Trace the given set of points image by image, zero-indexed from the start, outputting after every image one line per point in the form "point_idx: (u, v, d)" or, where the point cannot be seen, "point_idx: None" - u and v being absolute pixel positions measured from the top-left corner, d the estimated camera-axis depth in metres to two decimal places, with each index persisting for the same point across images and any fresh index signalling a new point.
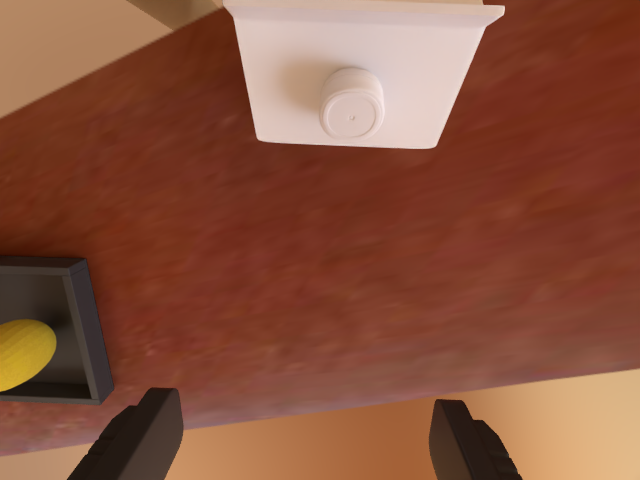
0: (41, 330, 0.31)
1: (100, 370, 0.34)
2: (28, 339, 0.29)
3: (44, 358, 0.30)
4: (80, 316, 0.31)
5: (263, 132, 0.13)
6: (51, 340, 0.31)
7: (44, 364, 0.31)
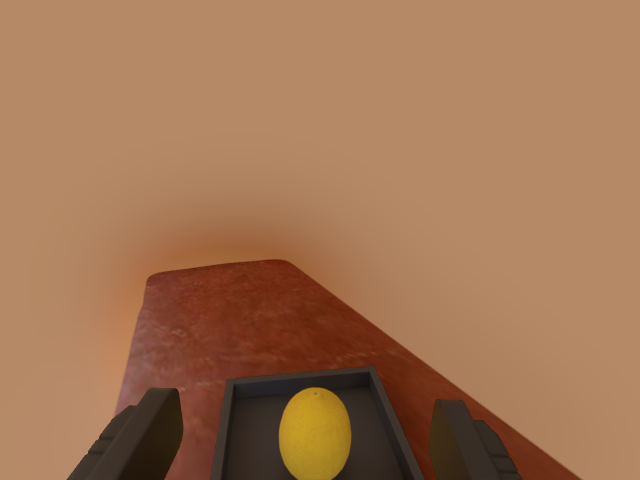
0: (340, 469, 0.24)
1: None
2: (343, 455, 0.23)
3: (312, 471, 0.23)
4: None
5: None
6: None
7: (300, 470, 0.23)
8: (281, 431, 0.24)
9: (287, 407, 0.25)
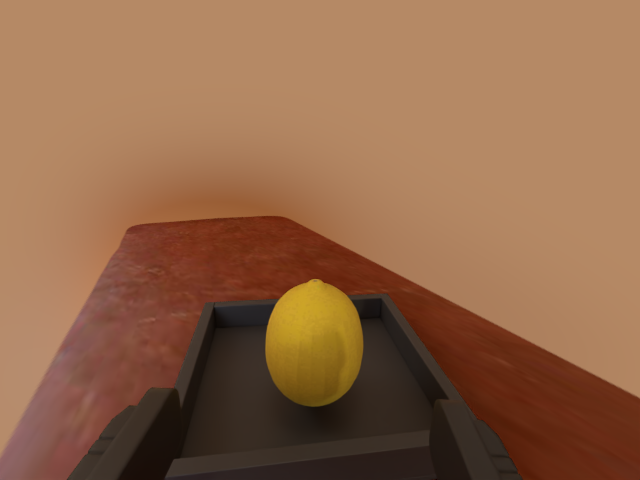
0: (349, 385, 0.17)
1: None
2: (353, 362, 0.17)
3: (310, 380, 0.16)
4: (389, 452, 0.15)
5: None
6: (328, 397, 0.17)
7: (293, 380, 0.16)
8: (268, 333, 0.18)
9: (277, 303, 0.18)
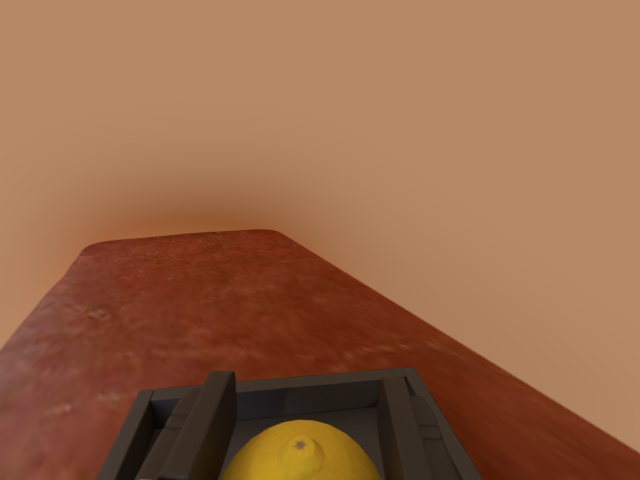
0: None
1: None
2: None
3: None
4: None
5: None
6: None
7: None
8: None
9: None
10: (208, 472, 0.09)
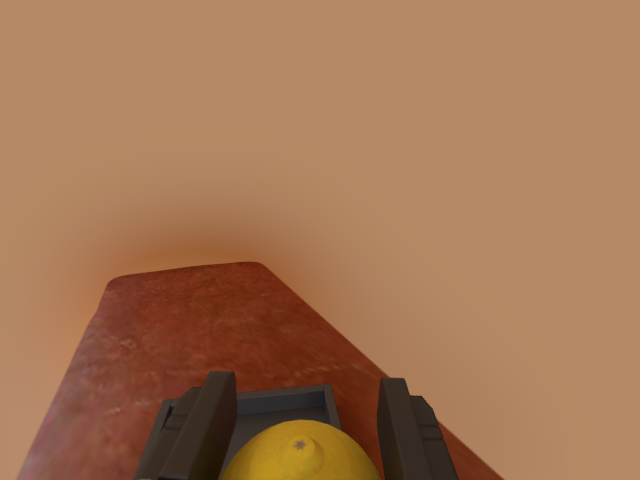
0: None
1: None
2: None
3: None
4: None
5: None
6: None
7: None
8: None
9: None
10: (208, 472, 0.09)
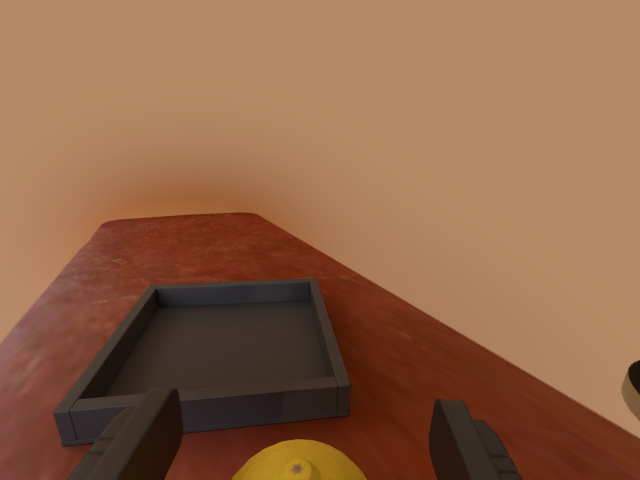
0: None
1: None
2: None
3: None
4: (263, 394, 0.18)
5: None
6: None
7: None
8: None
9: None
10: None
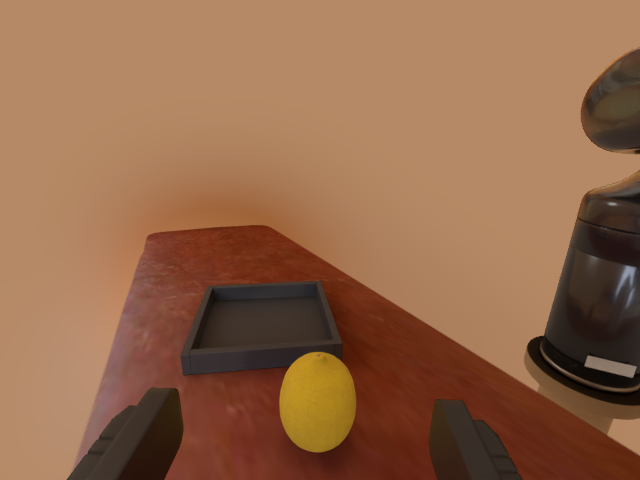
0: (345, 436, 0.23)
1: (220, 361, 0.32)
2: (348, 420, 0.22)
3: (315, 436, 0.21)
4: (293, 348, 0.32)
5: None
6: (329, 446, 0.22)
7: (302, 435, 0.21)
8: (282, 395, 0.23)
9: (288, 371, 0.23)
10: None
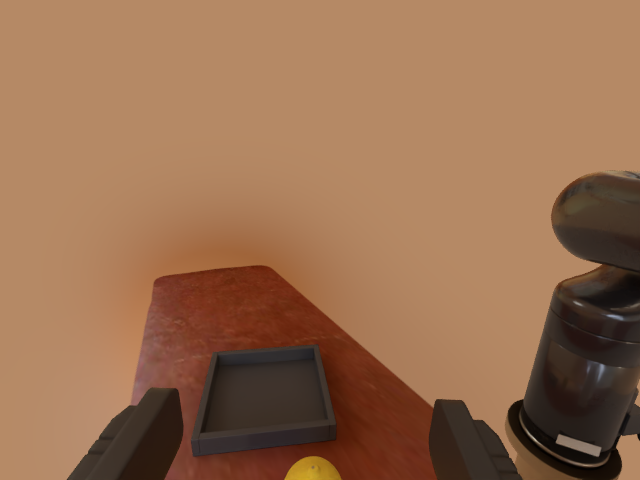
0: None
1: (226, 443, 0.35)
2: None
3: None
4: (291, 430, 0.36)
5: None
6: None
7: None
8: None
9: (287, 478, 0.27)
10: None
